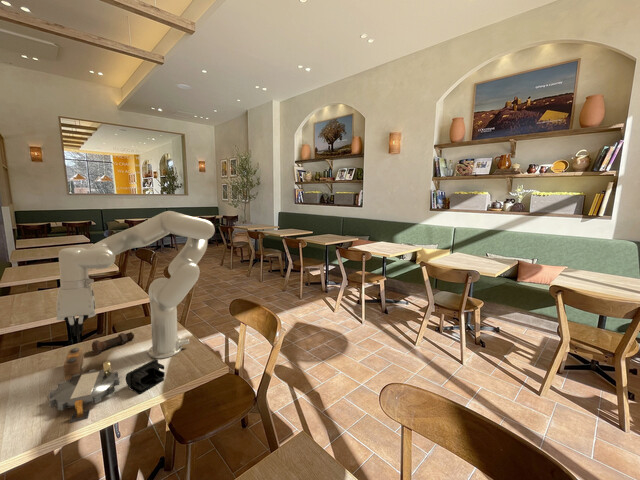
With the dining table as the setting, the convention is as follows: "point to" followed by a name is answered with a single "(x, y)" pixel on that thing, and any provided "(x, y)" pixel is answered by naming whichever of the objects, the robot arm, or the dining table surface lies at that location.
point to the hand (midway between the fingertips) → (77, 333)
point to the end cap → (145, 377)
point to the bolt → (111, 342)
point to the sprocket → (84, 388)
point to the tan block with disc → (73, 363)
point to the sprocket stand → (80, 413)
